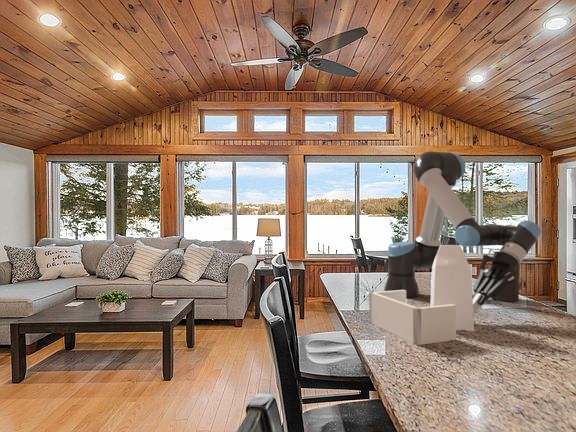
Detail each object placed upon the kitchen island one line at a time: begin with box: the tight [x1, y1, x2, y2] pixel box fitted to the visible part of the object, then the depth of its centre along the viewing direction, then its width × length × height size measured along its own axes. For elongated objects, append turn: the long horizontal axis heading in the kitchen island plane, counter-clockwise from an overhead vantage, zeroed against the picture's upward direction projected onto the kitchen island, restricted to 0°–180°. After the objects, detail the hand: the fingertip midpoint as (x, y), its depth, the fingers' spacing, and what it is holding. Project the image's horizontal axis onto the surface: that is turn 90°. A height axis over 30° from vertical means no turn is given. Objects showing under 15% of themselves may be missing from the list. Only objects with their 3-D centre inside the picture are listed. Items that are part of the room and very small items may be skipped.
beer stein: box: [479, 251, 521, 303], centre depth 166 cm, size 15×11×20 cm
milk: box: [429, 244, 475, 332], centre depth 129 cm, size 12×12×26 cm
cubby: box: [368, 290, 457, 346], centre depth 123 cm, size 25×14×10 cm, turn 19°
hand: (470, 310), depth 131 cm, fingers closed
